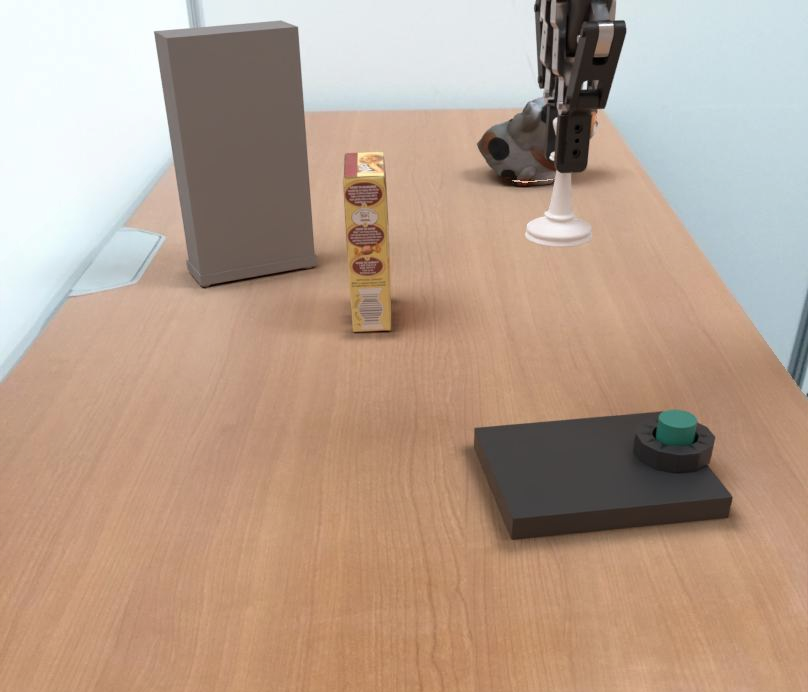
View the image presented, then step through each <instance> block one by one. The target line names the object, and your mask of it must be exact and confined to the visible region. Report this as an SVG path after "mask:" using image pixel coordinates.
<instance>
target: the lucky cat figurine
mask: <svg viewBox="0 0 808 692" xmlns="http://www.w3.org/2000/svg"><path fill="white" fill-rule="evenodd" d="M548 105H550V103H549V104H546V103H545V101H544V98H543V96H542V97H537V98H535V99H533V100H530V101H528V102H527V103H526V104H525V106H524V107H523V109H522V111H521V112H519V113H516V114H515V115H514V116H513V118H510V119H508V120H507V121H503V122H501V123H497V124H494V125H493V126H490V128H488V129H487V130H486V131H485V132H484V133H483V135H482V137H481V138H480V139H479V140H478V142H476V146H477V150H478V151H479V152H480V154H481V156H482V157H483V159H484V160H485V162H486V164H487V165H488V167H489V168H491V169H492V171H494V172H495V173H496V175H498V176H499V177H500V178H503V179H504V178H509V179H510V181H511V180H520V181H535V180H547V179H553V180H548V181H537V182H528V183H522V182H514V181H511V182H512V184H513V186H518V187H530V186H545V185H550V184H552V183H554V182H555V179H554V178H555V176H556V169H555V167H554V163H550V162H549V161H548V160H547V159H546V158H545V156H544V148H545V133H546V119H547V106H548ZM598 112H599V111H598V110H597V112H596V113H595V114H592V121H591V132H590V140H591V139H592V138H593V137H594V136H595V135H596V130H597V128H598V126H599V122H598V120H597V117H598V116H597V114H598Z"/></svg>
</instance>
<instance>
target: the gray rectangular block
mask: <svg viewBox="0 0 808 692" xmlns="http://www.w3.org/2000/svg"><path fill="white" fill-rule="evenodd" d="M153 35H154V42H155V49H156V54H157V62H158V68H159V73H160V74H159V75H160V80H161V86H162V87H161V88H162V93H163V94H162V95H163V100H164V107H165V114H166V120H167V126H168V127H167V128H168V133H169V140H170V146H171V147H170V148H171V152H172V159H173V167H174V172H175V179H176V186H177V192H178V193H177V194H178V200H179V205H180V212H181V218H182V226H183V233H184V238H185V239H184V240H185V245H186V246H185V247H186V251H187V252H186V253H187V259H185V262H186V268H187V270H188V272H189V273H190V274H191V275H192V276H193V278H194V279H195V280H196V281H197V283H198V284H199V285H200V287H203V288H208V287H210V286H211V285H215V284H220V283H221V284H222V283H226V282H230V281H231V282H232V281H238V280H243V279H248V278H254V277H260V276H264V275H265V276H266V275H271V274H276V273H282V272H288V271H295V270H299V269H312V268H313V267H315V266H318V257H317V255H316V253H315V252H316V251H315V237H314V225H313V213H312V199H311V186H310V185H311V184H310V183H311V182H310V172H309V160H308V159H309V158H308V157H309V156H308V144H307V130H306V116H305V103H304V102H305V101H304V89H303V76H302V75H303V74H302V61H301V48H300V34H299V26H298V25H295V24H292V23H289V22H287V21H285V20H284V21H283V20H271V21H260V22H259V21H258V22H247V23H246V22H245V23H235V24H224V25H211V26H199V27H198V26H197V27H188V28H187V27H186V28H174V29H165V30H153Z"/></svg>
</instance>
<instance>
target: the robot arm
mask: <svg viewBox="0 0 808 692" xmlns="http://www.w3.org/2000/svg"><path fill="white" fill-rule="evenodd" d="M533 12H534V21H535V41H536V60H537V63H536V64H537V84H538V88H539V89H540V90H543V91H542V92H543V93H542V97H543V98H544V101H545V103H546V104H549V103H550V105H548V106H547V119H546V133H545V148H544V156H545V158H546V159H547V160H548V161H549V162H550V163H554V167H555V169H556V170H557V171H558V172H560V173H571V174H572V173H573V174H575V173H583V172H584V171H586V169H587V168H588V164H589V152H590V144H591V143H590V142H591V139H590V132H591V121H592V114H595V113H596V112H597V111H598V110H604V109H606V107H607V105H608V104H607V103H608V101H609V96H610V92H611V89H612V86H613V82H614V78H615V76H616V75H615V74H616V71H617V67H618V64H619V61H620V57H621V53H622V50H623V47H624V43H625V40H626V35H627V24H626V20H625V19H617V20H616V15H617V14H616V12H617V0H535V2H534V5H533ZM585 82H586V89H584V83H585ZM597 113H598V112H597ZM555 118H557V128H556V134H555V130H554V126H553V120H554V119H555ZM552 152H555V155H554V161H552V160H551V159H550V158H549V157H550V156H551V153H552Z"/></svg>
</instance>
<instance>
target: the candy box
mask: <svg viewBox="0 0 808 692" xmlns="http://www.w3.org/2000/svg"><path fill="white" fill-rule="evenodd" d="M342 184H343V204H344V222H345V236H346V238H345V239H346V240H345V241H346V254H347V269H348V271H347V272H348V281H349V282H348V283H349V298H350V299H349V300H350V311H351V323H352V324H351V325H352V332H353V333H359V332H361V333H362V332H382V331H386V332H389V331H391V330H392V294H391V293H392V292H391V291H392V290H391V287H392V286H391V255H390V226H389V225H390V224H389V207H388V205H389V203H388V189H387V173H386V163H385V153H384V152H383V151H371V152H369V151H368V152H366V151H365V152H345V153H344V157H343V177H342Z"/></svg>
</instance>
